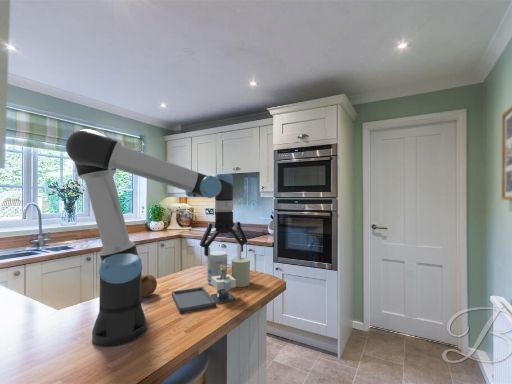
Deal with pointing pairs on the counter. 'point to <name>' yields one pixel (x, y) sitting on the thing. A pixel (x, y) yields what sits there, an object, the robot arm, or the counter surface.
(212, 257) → the supplement tub
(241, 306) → the counter surface
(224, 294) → the metal post stand
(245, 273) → the can
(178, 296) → the tray
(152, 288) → the onion
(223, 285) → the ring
